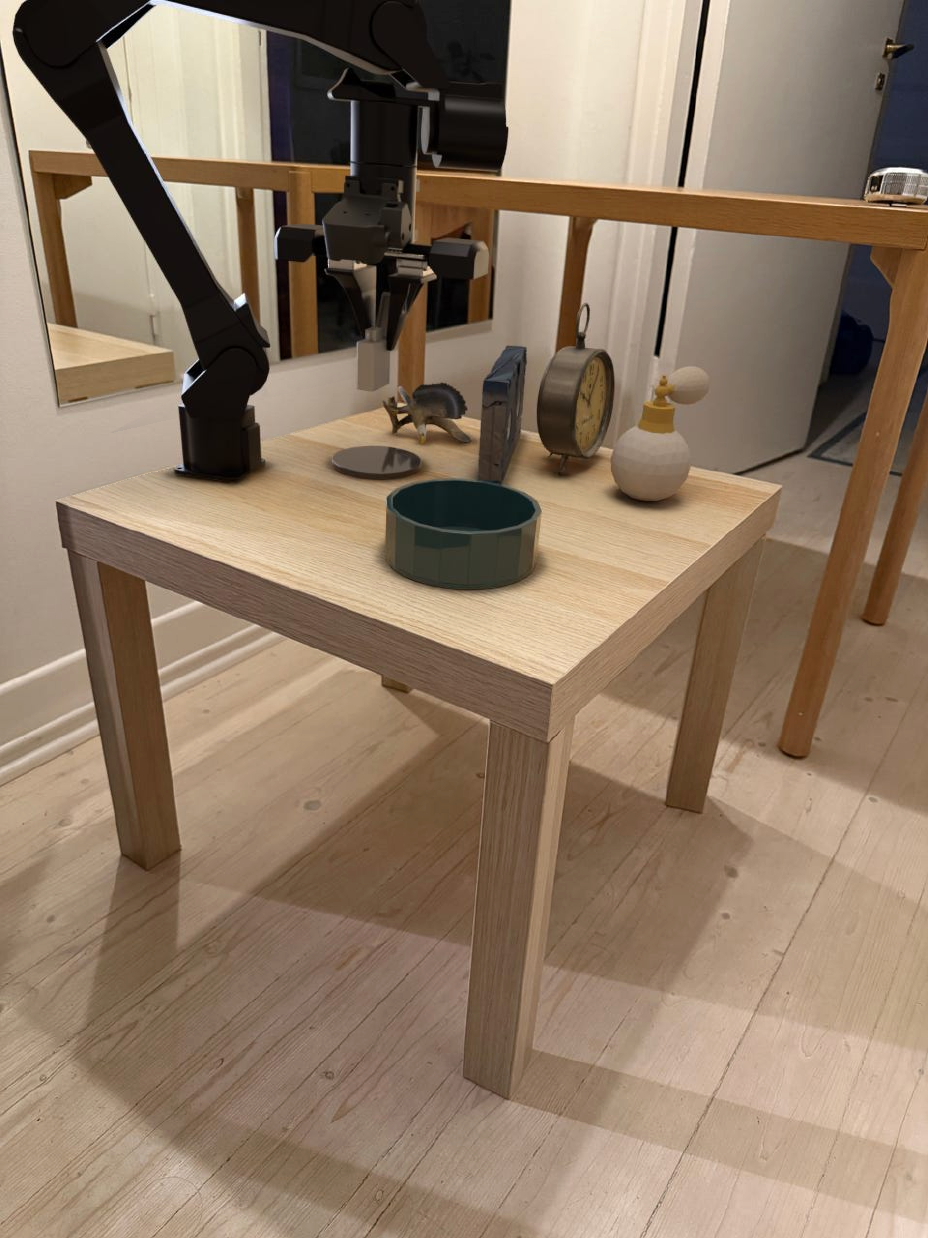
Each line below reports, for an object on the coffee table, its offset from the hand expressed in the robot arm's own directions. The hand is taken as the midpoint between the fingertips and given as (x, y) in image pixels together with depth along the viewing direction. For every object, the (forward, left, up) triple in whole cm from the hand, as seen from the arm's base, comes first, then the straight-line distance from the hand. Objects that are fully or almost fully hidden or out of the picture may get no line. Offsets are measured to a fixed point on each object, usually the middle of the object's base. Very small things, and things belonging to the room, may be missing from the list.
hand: (379, 348), depth 86 cm
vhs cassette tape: (+11, +9, -12) cm, 18 cm away
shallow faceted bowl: (+14, -18, -12) cm, 26 cm away
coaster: (0, +1, -12) cm, 12 cm away
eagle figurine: (+2, +12, -12) cm, 17 cm away
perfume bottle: (+27, +4, -12) cm, 29 cm away
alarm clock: (+18, +10, -12) cm, 23 cm away
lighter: (0, 0, -3) cm, 3 cm away
